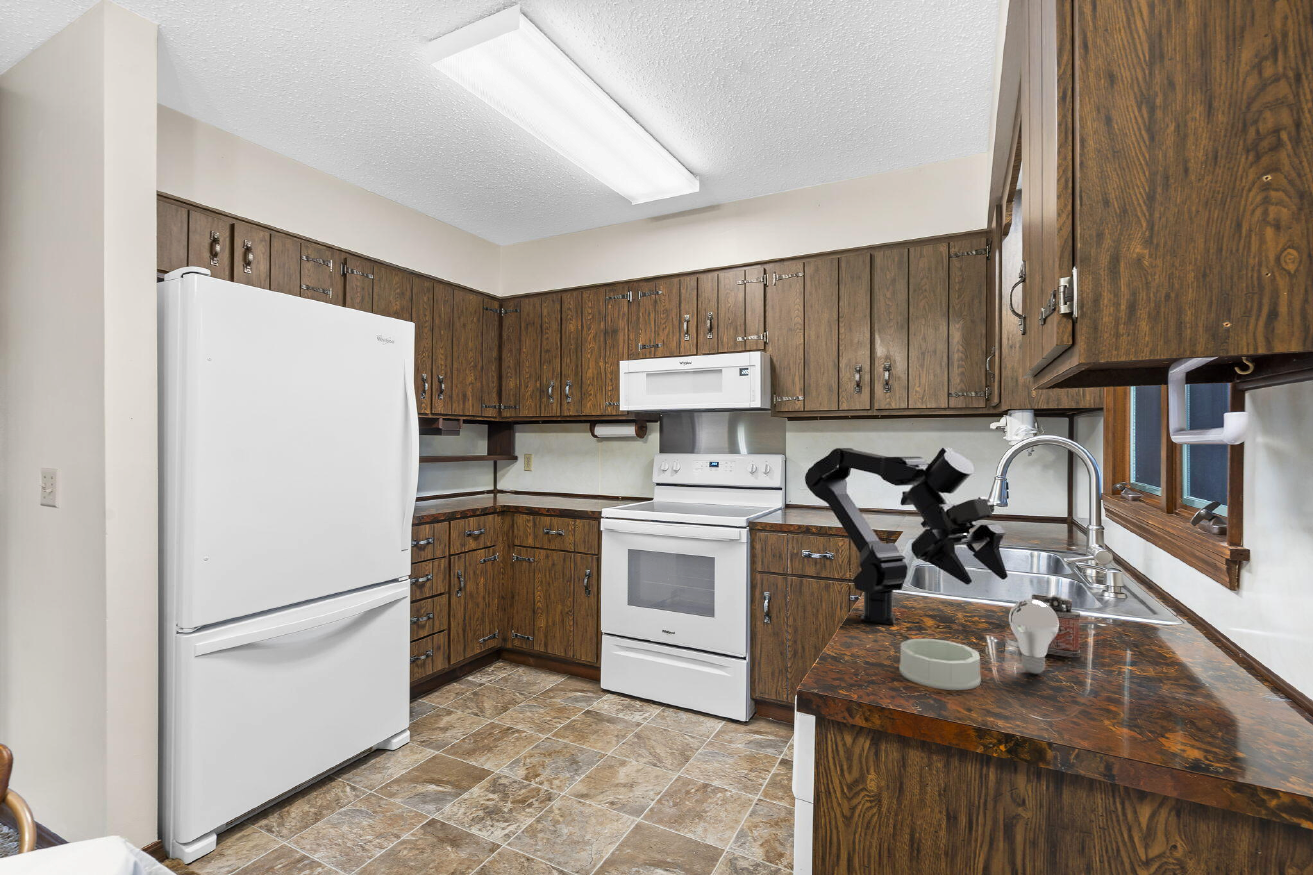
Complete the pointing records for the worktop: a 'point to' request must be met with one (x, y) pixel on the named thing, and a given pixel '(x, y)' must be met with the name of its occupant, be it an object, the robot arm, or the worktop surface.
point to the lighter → (1063, 626)
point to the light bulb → (1033, 631)
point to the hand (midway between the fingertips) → (987, 580)
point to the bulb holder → (940, 664)
